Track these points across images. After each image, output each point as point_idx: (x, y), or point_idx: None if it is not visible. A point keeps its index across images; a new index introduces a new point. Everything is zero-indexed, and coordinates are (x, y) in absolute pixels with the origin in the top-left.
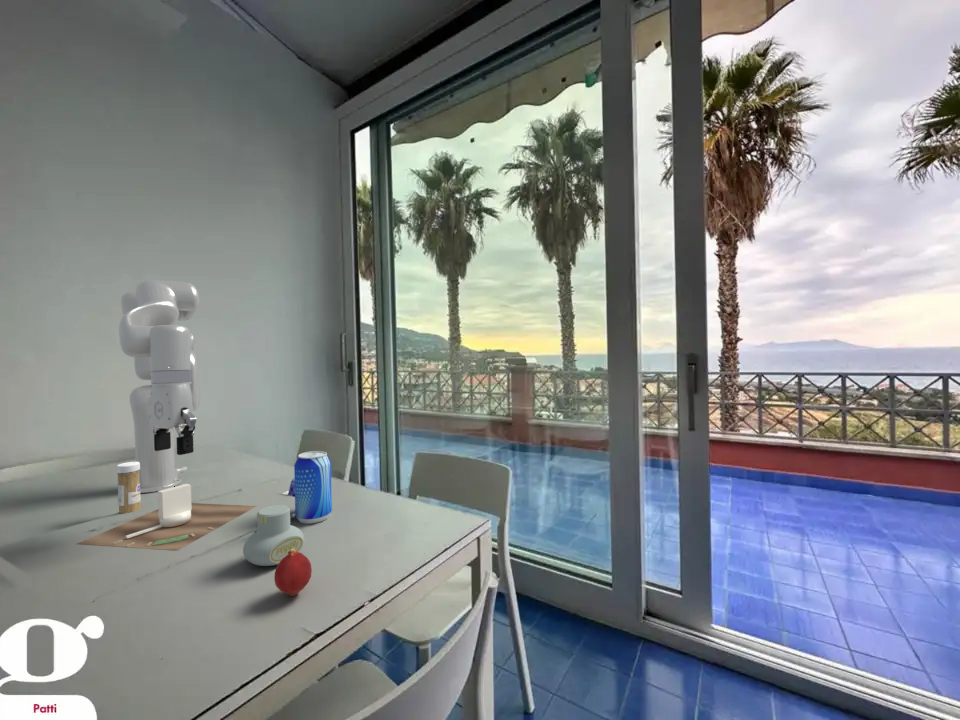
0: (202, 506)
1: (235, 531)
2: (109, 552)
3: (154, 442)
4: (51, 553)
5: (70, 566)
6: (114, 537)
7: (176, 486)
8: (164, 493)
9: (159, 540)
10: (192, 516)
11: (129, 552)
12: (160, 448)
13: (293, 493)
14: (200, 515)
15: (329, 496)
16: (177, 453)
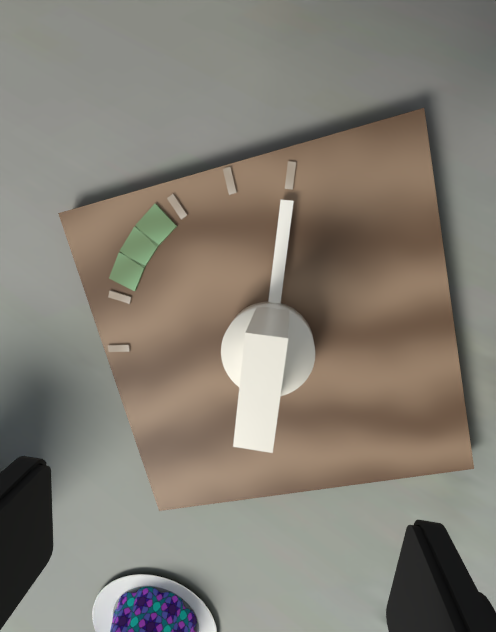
0: (327, 465)
1: (92, 381)
2: None
3: (473, 598)
4: (484, 68)
5: (304, 48)
6: (346, 195)
7: (275, 412)
8: (246, 339)
9: (170, 233)
10: None
11: None
12: (406, 560)
13: (142, 609)
14: None
15: None
16: (26, 460)
